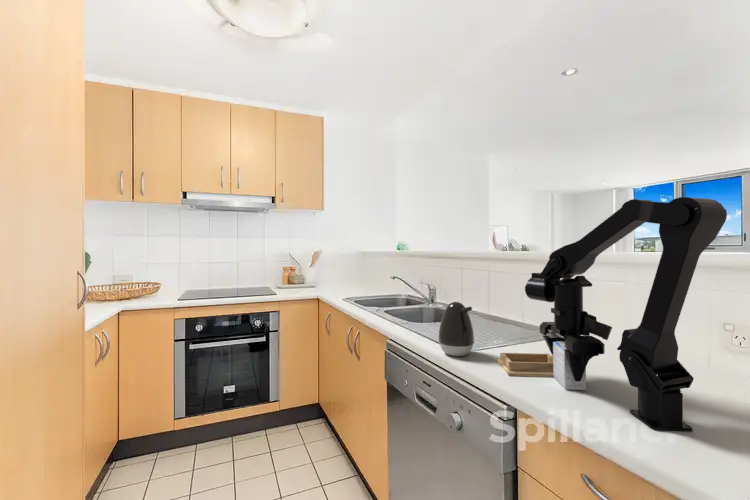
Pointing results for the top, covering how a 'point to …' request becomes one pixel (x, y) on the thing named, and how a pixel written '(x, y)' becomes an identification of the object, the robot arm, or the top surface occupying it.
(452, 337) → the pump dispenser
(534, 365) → the box
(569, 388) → the medicine box
